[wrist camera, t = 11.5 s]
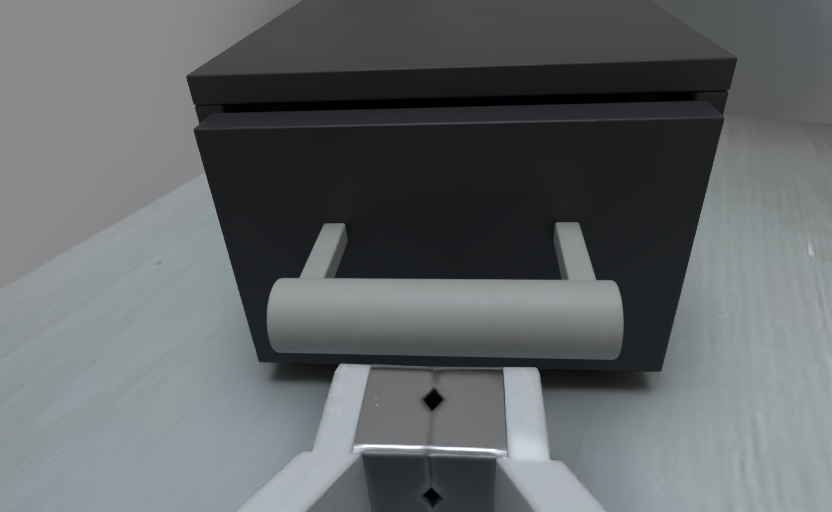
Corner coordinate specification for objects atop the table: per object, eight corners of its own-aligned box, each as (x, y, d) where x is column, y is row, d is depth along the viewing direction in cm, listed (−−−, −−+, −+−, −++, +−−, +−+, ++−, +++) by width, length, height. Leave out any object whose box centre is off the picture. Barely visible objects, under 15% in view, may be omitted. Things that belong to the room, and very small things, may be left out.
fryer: (663, 359, 18) (739, 57, 13) (261, 351, 20) (184, 75, 15) (589, 171, 30) (612, -25, 25) (343, 174, 32) (318, -11, 27)
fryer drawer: (712, 505, 13) (826, 210, 9) (204, 481, 14) (91, 213, 10) (587, 177, 28) (607, 7, 24) (342, 180, 29) (320, 20, 25)
